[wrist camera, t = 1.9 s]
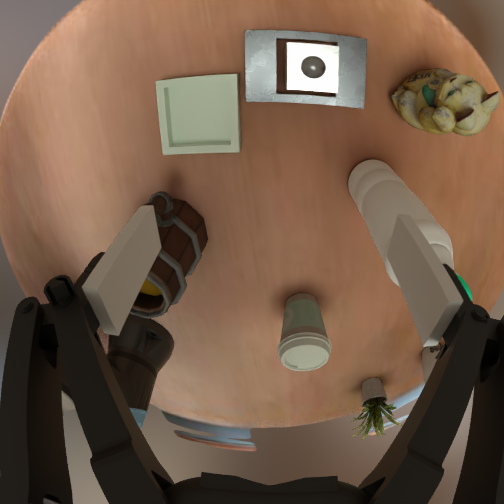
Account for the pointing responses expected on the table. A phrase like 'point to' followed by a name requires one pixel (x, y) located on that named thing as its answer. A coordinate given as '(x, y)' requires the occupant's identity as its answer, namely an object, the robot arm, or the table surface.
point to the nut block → (311, 67)
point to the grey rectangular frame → (264, 90)
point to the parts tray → (199, 114)
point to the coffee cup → (303, 335)
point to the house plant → (374, 406)
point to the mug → (171, 255)
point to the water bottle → (394, 211)
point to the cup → (429, 360)
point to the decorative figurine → (444, 102)
